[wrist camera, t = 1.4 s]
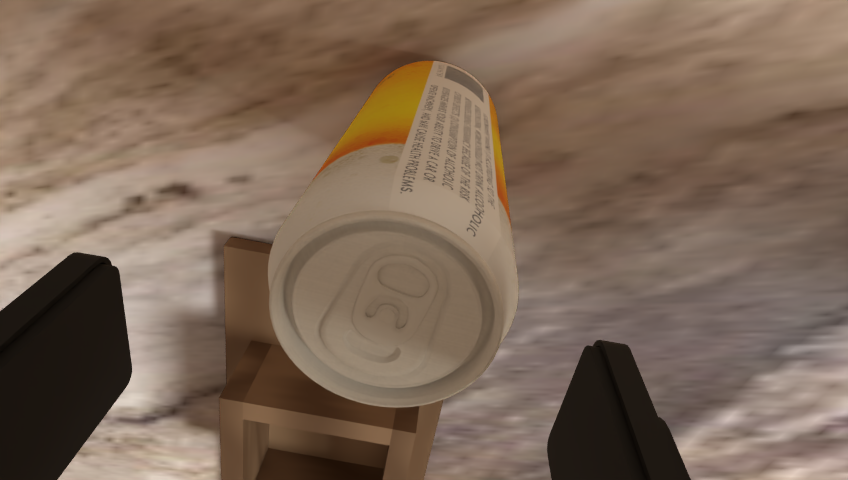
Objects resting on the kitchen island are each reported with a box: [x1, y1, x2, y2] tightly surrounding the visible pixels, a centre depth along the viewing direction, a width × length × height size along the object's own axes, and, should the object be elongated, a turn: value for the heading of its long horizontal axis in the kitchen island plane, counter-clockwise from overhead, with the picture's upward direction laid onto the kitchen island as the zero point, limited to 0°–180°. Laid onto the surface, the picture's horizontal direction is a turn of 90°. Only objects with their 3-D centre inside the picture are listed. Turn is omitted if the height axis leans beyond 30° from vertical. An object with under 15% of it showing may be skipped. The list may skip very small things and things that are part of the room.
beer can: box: [268, 61, 519, 408], centre depth 19 cm, size 6×6×15 cm
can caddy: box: [219, 237, 443, 480], centre depth 32 cm, size 13×22×6 cm, turn 171°
